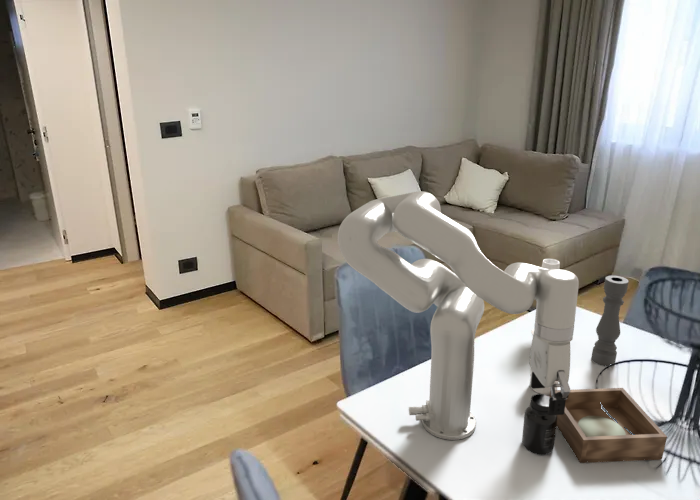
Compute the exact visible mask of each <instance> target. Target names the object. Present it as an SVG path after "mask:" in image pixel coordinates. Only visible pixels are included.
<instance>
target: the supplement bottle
mask: <svg viewBox="0 0 700 500" xmlns="http://www.w3.org/2000/svg"><path fill="white" fill-rule="evenodd" d="M549 398H550V397H549V395H544V394H540V393H537V394H534V395H532V396H531V398H530V401H529V402H530V403H529V405H528V406H527V407H526V408H525V410H524V416H523V417H524V418H523V426H522V427H523V428H522V435H521V436H522V437H521V443H522V446H523V448H524V449H525V450H527V451H528V452H530V453H531V454H534V455H538V456H545V455H549V454H551V453H552V452H553V451H554V448H555V444H556V443H555V442H556V434H557V415H549V414H548V408H549Z"/></svg>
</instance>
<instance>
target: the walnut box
mask: <svg viewBox="0 0 700 500" xmlns="http://www.w3.org/2000/svg"><path fill="white" fill-rule="evenodd" d="M560 390H561V389H557V390H555V393H558V392H560ZM548 396H549V397H551V391H550V393H549V395H548ZM600 402H601V404H602V405H603V407H604V408H605V409H606V410H607V411H608V413H609V414H610V415H611V416H612V417H613V418H615V419H616V420H617V422H618V423H616V422H615V421H614V420H613V419H612V418H610V417H609V416H608V415H607V414H606V412H604V411H603V410H602V409H601V404H600ZM624 427H625V428H627V429H628V430H629V431H631V432H632V433H633V434H635V435H632V434H630V433H629V432H628V431H627V430H626V429H625V428H624ZM556 429H558V431H559V433H560V434H561V436H562V437H563V439H564V441H565V442H566V443H567V445H568V447H569V448H570V450H571V451H572V453H573V455H574V456H575V458H576V459H577V461H578V462H579V464H585V463H586V464H592V463H616V462H618V463H619V462H637V461H638V462H639V461H662V459H663V455H664V452H665V447H666V444H667V439H668V436H667V435H666V434H665V432H663V430H662V429H661V428H660V427H659V426H658V424H656V422H655V421H654V420H653V419H652V418H651V417H650V416H649V415H648V414H647V413H646V411H644V410H643V408H642V407H641V406H640V405H639V404H638V403H637V402H636V401H635V400H634V399H633V397H632V396H631V395H630V394H629V393H628V392H627V390H625V388H624V387H611V388H608V387H607V388H606V387H605V388H582V389H570V393H569V396H568V398H567V400H566V402H565V411H564V414H563V415H557V427H556Z"/></svg>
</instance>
